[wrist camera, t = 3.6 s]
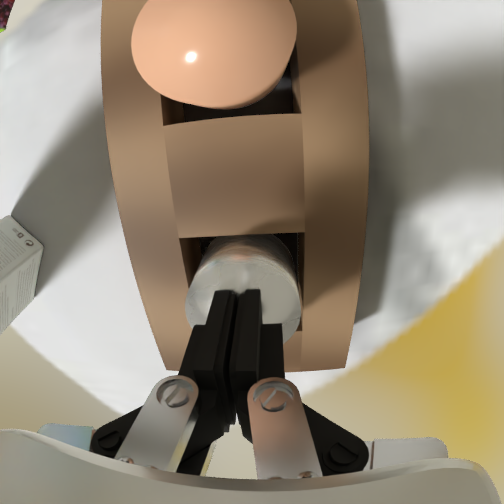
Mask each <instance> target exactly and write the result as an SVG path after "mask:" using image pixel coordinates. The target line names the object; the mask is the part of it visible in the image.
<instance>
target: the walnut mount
mask: <svg viewBox="0 0 504 504" xmlns="http://www.w3.org/2000/svg"><path fill="white" fill-rule="evenodd" d="M147 1H148V0H102V16H101V75H102V93H103V107H104V118H105V127H106V136H107V144H108V151H109V158H110V165H111V171H112V177H113V183H114V189H115V194H116V199H117V204H118V209H119V214H120V219H121V223H122V228H123V232H124V236H125V241H126V245H127V249H128V253H129V256H130V260H131V264H132V268H133V271H134V275H135V279H136V282H137V285H138V289H139V292H140V296H141V299H142V302H143V305H144V308H145V311H146V315H147V318H148V321H149V324H150V327H151V329H152V332H153V335H154V338H155V341H156V344H157V346H158V349H159V352H160V354H161V357H162V360H163V362H164V365H165V367H166V370H172V371H179V370H180V367H181V364H182V360H183V357H184V354H185V351H186V348H187V345H188V342H189V339H190V336H191V333H192V328H191V326H190V324H189V322H188V320H187V317H186V312H185V301H186V296H187V293H188V291H189V288H190V286H191V283H192V281H193V279H194V276H195V274H196V272H197V269H198V267H199V265H200V263H201V260H202V255H201V248H200V242H199V237H208V236H227V235H248V234H271V233H295V232H298V285H297V287H298V293H299V299H300V306H301V317H300V322H299V325H298V327H297V329H296V331H295V333H294V334H293V335H292V337H291V338H290V339H289V340H288V341H287V342H285V343H284V344H283V350H284V370H285V372H302V371H317V370H329V369H339V368H345V365H346V360H347V356H348V351H349V346H350V341H351V336H352V330H353V325H354V319H355V313H356V307H357V300H358V294H359V287H360V279H361V271H362V263H363V254H364V244H365V233H366V221H367V206H368V185H369V110H368V90H367V76H366V65H365V55H364V46H363V38H362V30H361V23H360V17H359V11H358V5H357V0H289V1H290V3H291V5H292V7H293V10H294V12H295V17H296V22H297V34H296V41H295V44H294V48H293V51H292V53H291V56H290V69H291V81H292V95H293V111H294V114H270V115H252V116H238V117H227V118H217V119H208V120H200V121H193V122H185V120H184V109H183V102H180V101H176V100H173V99H171V98H168V97H166V96H164V95H162V94H160V93H159V92H157V91H156V90H154V89H153V88H152V87H151V86H150V85H148V83H147V82H146V81H145V80H144V79H143V78H142V76H141V75H140V73H139V72H138V70H137V68H136V65H135V63H134V60H133V56H132V49H131V39H132V32H133V28H134V25H135V22H136V19H137V17H138V15H139V13H140V11H141V10H142V8H143V7H144V5H145V4H146V2H147Z"/></svg>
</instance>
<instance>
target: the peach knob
mask: <svg viewBox="0 0 504 504" xmlns="http://www.w3.org/2000/svg"><path fill="white" fill-rule="evenodd" d="M296 34H297V22H296V17H295V12H294V10H293V7H292V5H291V3H290V1H289V0H148V1H147V2H146V4H145V5H144V7H143V8H142V10H141V11H140V13H139V15H138V17H137V19H136V22H135V25H134V28H133V32H132V39H131V49H132V56H133V60H134V63H135V65H136V68H137V70H138V72H139V73H140V75H141V76H142V78H143V79H144V80H145V81H146V82H147V83H148V85H150V86H151V87H152V88H153V89H154V90H156V91H157V92H159V93H160V94H162V95H164V96H166V97H168V98H171V99H173V100H176V101H180V102H183V103H188V104H193V105H198V106H202V107H207V108H212V109H218V110H232V109H239V108H242V107H246V106H249V105H251V104H254V103H256V102H257V101H259V100H261V99H263V98H264V97H265V96H267V95H268V94H269V93H270V92H271V91H272V90H273V89H274V88H275V87H276V86H277V85H278V83H279V82H280V80H281V78H282V76H283V74H284V72H285V69H286V67H287V64H288V61H289V59H290V56H291V53H292V51H293V48H294V44H295V41H296Z"/></svg>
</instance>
